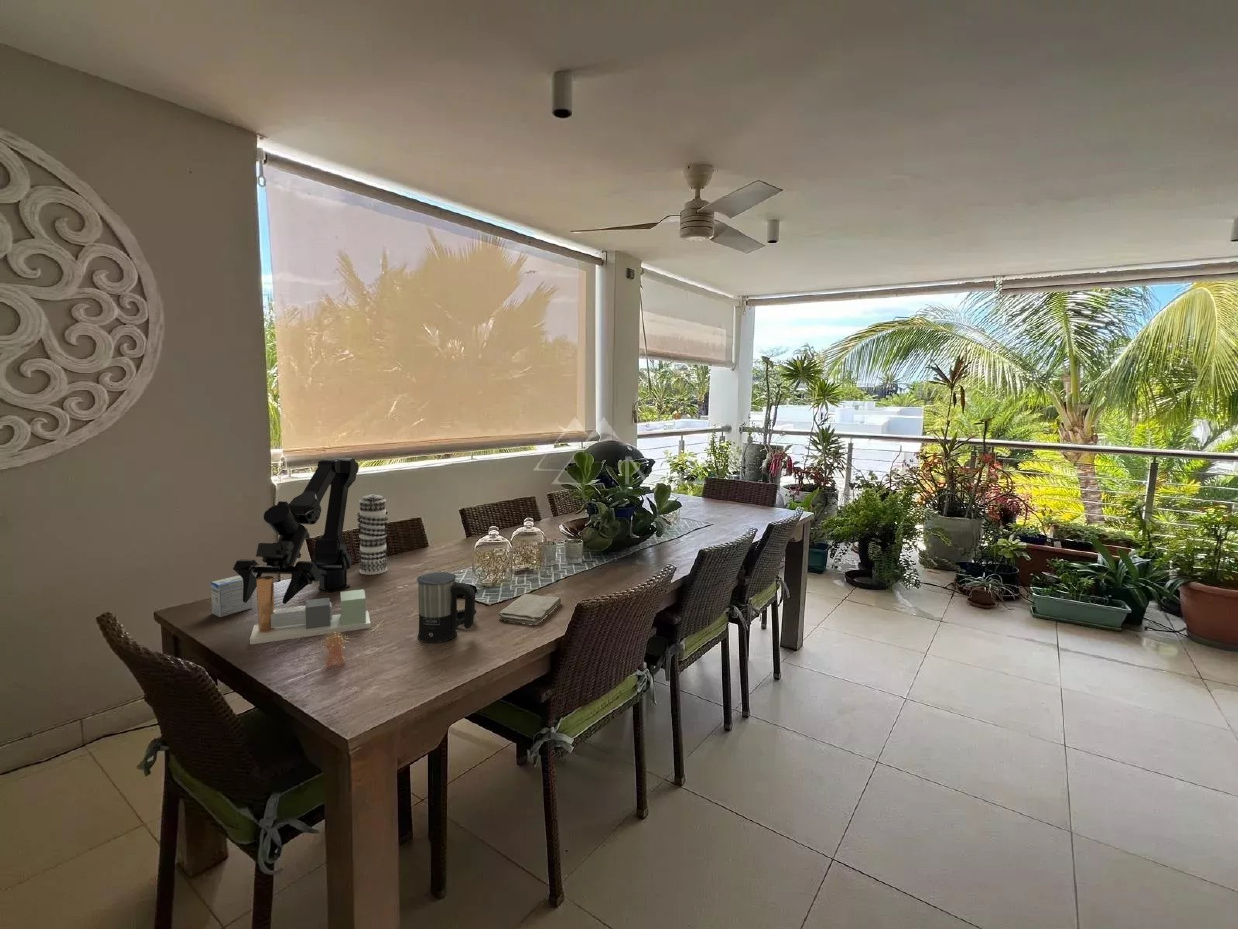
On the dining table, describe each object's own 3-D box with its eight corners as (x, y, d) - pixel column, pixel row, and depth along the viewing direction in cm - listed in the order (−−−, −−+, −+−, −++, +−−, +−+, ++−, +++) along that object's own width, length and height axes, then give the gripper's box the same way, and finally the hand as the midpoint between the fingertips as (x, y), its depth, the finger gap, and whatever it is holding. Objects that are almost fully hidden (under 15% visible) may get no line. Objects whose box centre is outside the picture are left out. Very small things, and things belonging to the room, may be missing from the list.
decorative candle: (359, 567, 190) (358, 493, 187) (389, 565, 193) (388, 493, 190) (356, 575, 181) (354, 498, 178) (387, 574, 184) (386, 498, 181)
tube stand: (249, 644, 131) (248, 617, 130) (254, 629, 139) (253, 603, 138) (370, 627, 142) (370, 602, 142) (368, 615, 150) (367, 591, 149)
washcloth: (496, 623, 150) (496, 611, 149) (523, 600, 167) (523, 589, 167) (538, 628, 147) (538, 617, 147) (561, 604, 164) (561, 594, 164)
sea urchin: (292, 668, 121) (291, 634, 120) (346, 648, 131) (345, 617, 130) (323, 685, 114) (322, 649, 113) (377, 663, 124) (377, 630, 123)
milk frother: (415, 645, 134) (415, 584, 132) (420, 619, 149) (419, 564, 147) (477, 640, 137) (478, 581, 136) (476, 616, 153) (476, 562, 151)
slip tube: (257, 632, 134) (255, 581, 132) (259, 627, 137) (257, 577, 135) (332, 622, 141) (331, 574, 139) (332, 617, 144) (331, 570, 142)
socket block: (341, 625, 140) (341, 601, 139) (340, 615, 146) (340, 591, 146) (365, 622, 143) (365, 598, 142) (364, 612, 149) (363, 589, 148)
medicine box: (244, 605, 154) (243, 574, 153) (253, 608, 152) (251, 577, 151) (211, 614, 147) (210, 581, 146) (220, 618, 145) (218, 585, 144)
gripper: (236, 527, 138) (206, 586, 128) (314, 529, 138) (290, 588, 128) (257, 550, 146) (230, 607, 137) (330, 552, 147) (309, 609, 137)
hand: (264, 602), depth 134 cm, fingers open, 9 cm apart
